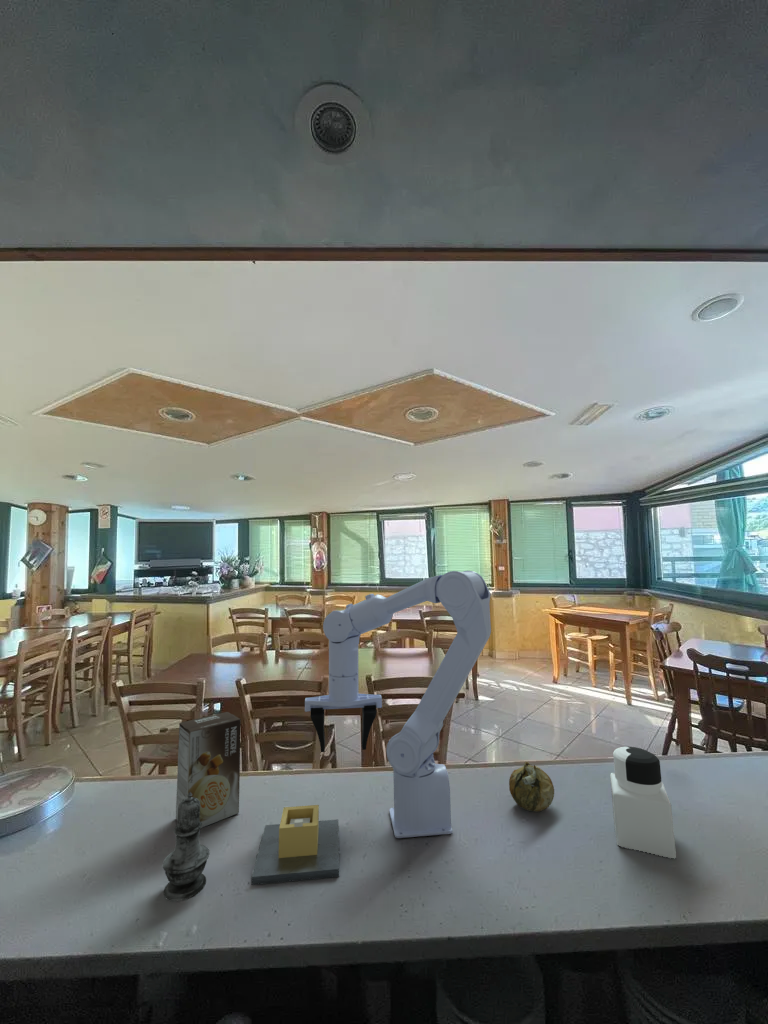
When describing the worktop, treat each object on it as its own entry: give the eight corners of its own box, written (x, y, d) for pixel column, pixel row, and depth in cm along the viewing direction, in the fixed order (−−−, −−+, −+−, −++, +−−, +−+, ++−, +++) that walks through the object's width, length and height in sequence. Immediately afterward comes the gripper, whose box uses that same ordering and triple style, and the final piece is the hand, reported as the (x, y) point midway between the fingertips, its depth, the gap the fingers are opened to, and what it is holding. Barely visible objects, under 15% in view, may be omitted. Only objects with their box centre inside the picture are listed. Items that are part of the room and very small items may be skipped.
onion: (565, 815, 73) (562, 766, 75) (525, 822, 72) (522, 772, 73) (539, 793, 81) (537, 748, 82) (502, 799, 79) (500, 753, 80)
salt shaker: (190, 906, 54) (195, 805, 56) (150, 899, 56) (156, 801, 57) (217, 874, 60) (220, 783, 62) (180, 868, 61) (185, 779, 63)
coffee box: (226, 799, 80) (229, 710, 82) (239, 813, 75) (242, 718, 77) (173, 818, 74) (178, 721, 76) (185, 835, 69) (190, 731, 71)
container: (667, 831, 69) (659, 746, 70) (676, 861, 62) (668, 766, 64) (613, 820, 72) (607, 739, 74) (617, 847, 65) (610, 757, 67)
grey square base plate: (338, 825, 71) (338, 800, 72) (339, 876, 59) (339, 845, 60) (265, 831, 70) (266, 805, 70) (251, 885, 58) (252, 853, 58)
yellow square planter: (318, 831, 68) (318, 800, 69) (317, 854, 62) (317, 820, 63) (283, 834, 67) (283, 803, 68) (278, 858, 62) (279, 823, 62)
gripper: (378, 667, 86) (379, 738, 84) (306, 670, 84) (305, 742, 82) (382, 676, 79) (383, 753, 77) (304, 679, 77) (303, 758, 76)
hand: (343, 748), depth 79 cm, fingers open, 7 cm apart
